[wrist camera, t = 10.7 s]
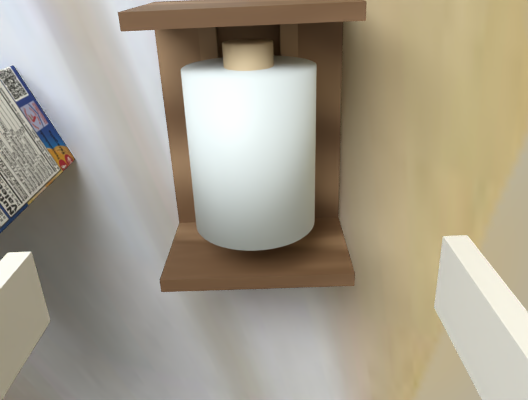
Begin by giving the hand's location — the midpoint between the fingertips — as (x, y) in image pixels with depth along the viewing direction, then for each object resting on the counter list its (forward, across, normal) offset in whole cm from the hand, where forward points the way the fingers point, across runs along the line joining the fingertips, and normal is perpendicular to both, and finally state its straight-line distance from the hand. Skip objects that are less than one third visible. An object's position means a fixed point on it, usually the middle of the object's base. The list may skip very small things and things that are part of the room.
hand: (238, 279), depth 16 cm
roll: (+16, +1, 0) cm, 16 cm away
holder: (+18, 0, 0) cm, 18 cm away
